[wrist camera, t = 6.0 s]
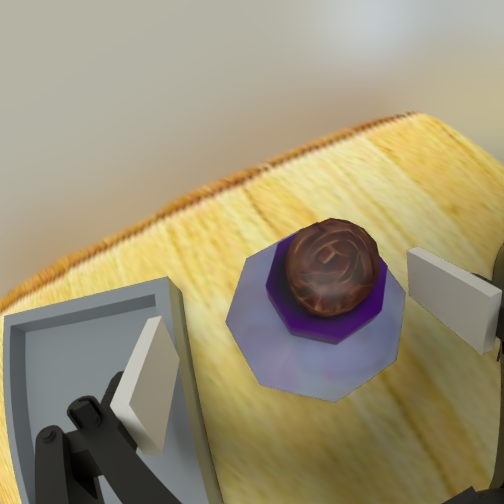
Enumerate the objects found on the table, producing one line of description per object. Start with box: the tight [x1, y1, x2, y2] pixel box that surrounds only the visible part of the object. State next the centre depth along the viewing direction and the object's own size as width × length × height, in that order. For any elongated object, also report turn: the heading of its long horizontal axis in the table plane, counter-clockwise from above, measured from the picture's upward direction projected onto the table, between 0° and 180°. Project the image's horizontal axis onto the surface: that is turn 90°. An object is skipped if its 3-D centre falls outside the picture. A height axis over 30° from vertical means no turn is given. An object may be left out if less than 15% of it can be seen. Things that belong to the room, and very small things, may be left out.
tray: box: [3, 276, 224, 504], centre depth 17 cm, size 16×17×3 cm
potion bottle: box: [225, 218, 406, 402], centre depth 15 cm, size 9×9×12 cm
